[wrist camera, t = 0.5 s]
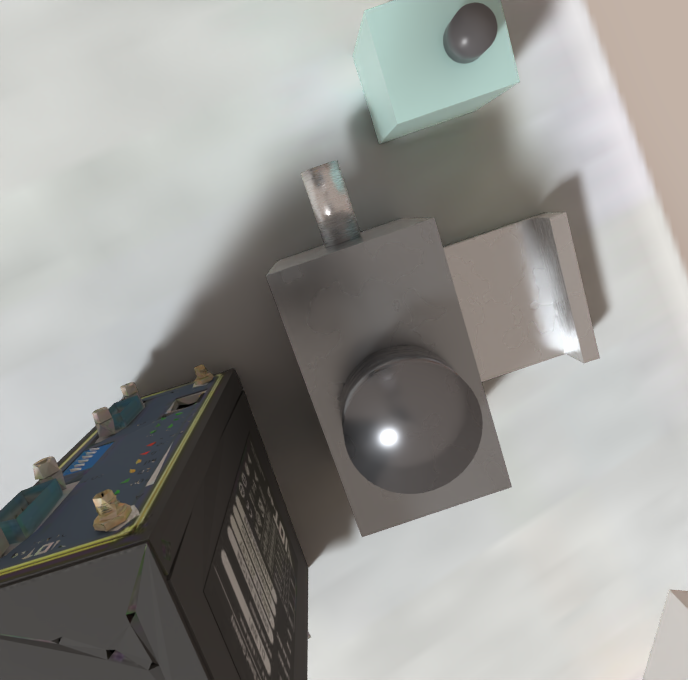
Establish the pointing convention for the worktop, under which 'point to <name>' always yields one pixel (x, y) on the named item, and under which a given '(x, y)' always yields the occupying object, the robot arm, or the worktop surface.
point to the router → (155, 549)
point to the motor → (422, 345)
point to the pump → (431, 61)
